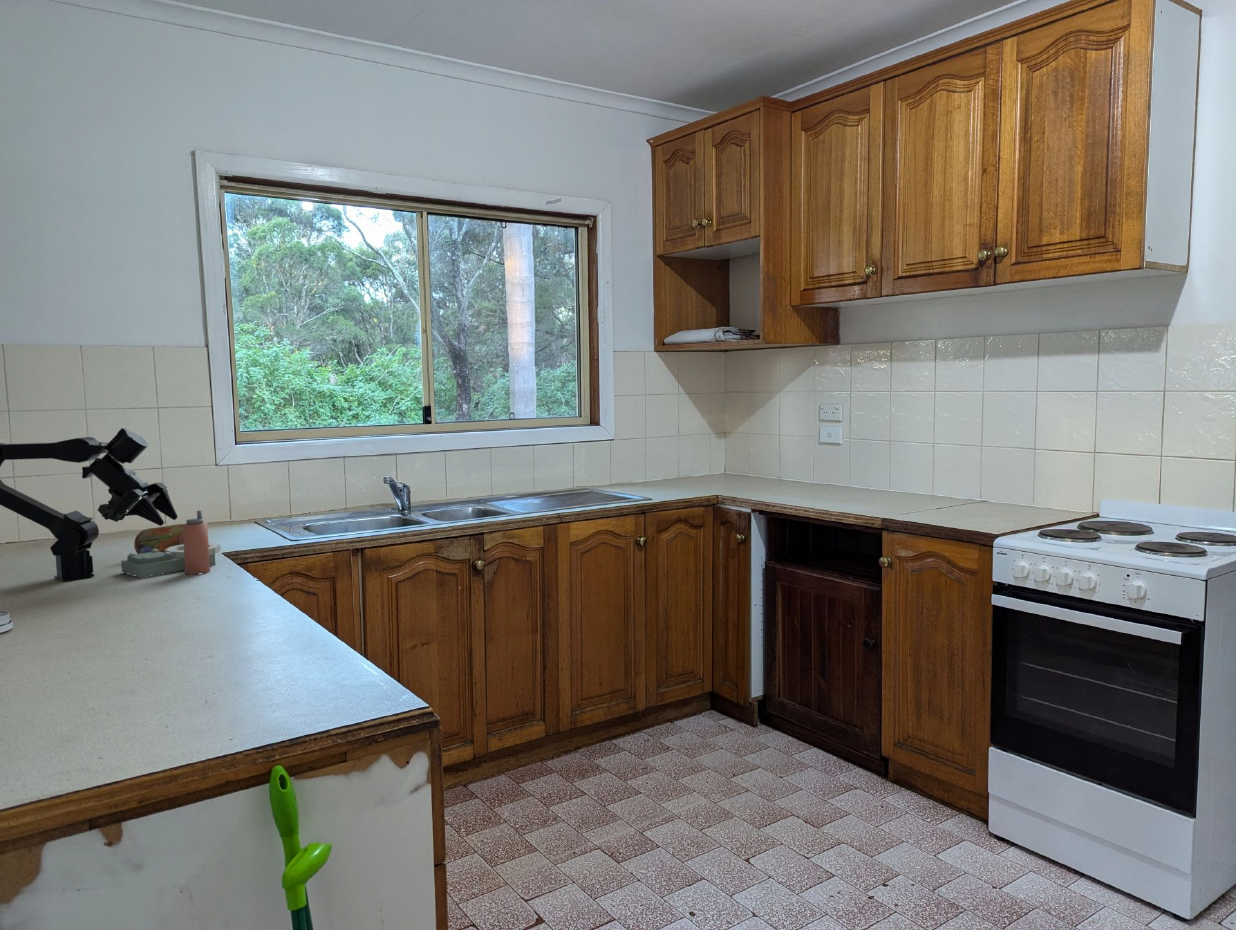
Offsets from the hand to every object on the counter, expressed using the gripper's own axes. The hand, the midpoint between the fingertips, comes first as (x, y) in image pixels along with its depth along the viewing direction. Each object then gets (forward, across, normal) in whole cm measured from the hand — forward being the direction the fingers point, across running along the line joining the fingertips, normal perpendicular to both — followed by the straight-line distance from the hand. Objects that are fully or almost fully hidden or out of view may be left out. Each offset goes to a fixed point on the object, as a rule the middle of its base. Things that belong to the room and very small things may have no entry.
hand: (169, 521), depth 205 cm
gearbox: (+8, -7, -10) cm, 15 cm away
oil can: (+13, 0, -5) cm, 14 cm away
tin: (+2, -23, -16) cm, 28 cm away
